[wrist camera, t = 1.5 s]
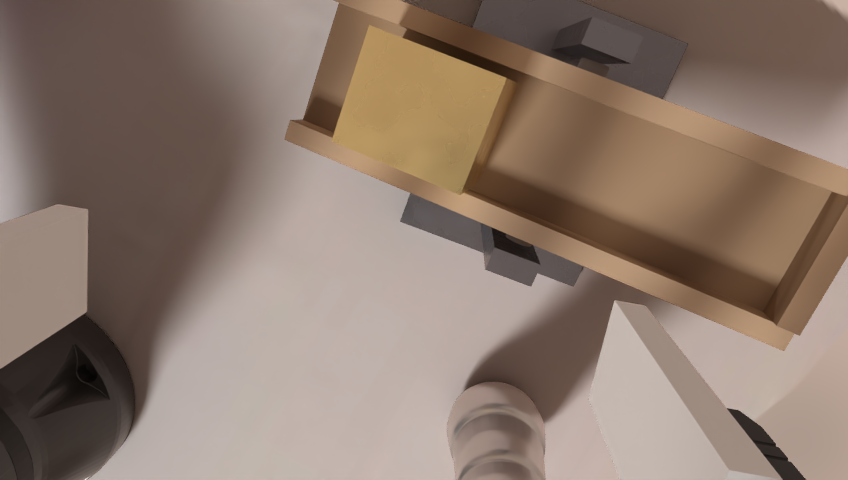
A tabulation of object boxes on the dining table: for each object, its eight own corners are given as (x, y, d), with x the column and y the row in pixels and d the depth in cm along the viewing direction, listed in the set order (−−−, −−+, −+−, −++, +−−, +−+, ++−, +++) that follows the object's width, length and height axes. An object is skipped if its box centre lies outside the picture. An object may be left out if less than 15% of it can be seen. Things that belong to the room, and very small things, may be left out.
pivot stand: (401, 217, 41) (381, 267, 30) (493, -30, 36) (505, -68, 26) (570, 281, 41) (605, 351, 31) (682, 44, 37) (765, 36, 26)
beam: (327, 144, 37) (276, 151, 30) (378, -13, 34) (334, -41, 28) (741, 318, 33) (780, 367, 27) (832, 157, 31) (898, 170, 24)
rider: (368, 136, 31) (331, 141, 26) (402, 38, 30) (369, 24, 25) (478, 181, 30) (460, 195, 25) (518, 83, 29) (506, 77, 24)
